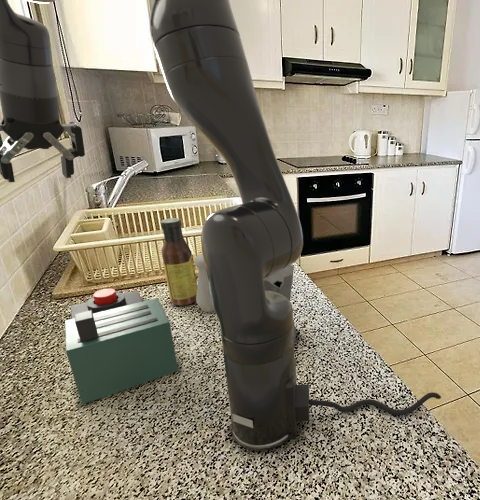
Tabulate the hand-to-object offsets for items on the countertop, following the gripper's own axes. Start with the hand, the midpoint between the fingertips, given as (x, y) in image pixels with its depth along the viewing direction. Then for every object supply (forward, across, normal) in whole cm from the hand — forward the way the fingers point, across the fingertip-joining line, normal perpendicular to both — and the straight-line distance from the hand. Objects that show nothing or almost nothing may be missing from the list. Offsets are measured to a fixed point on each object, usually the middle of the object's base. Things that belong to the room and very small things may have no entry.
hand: (40, 178), depth 70 cm
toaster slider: (+11, -5, -32) cm, 34 cm away
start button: (+24, +6, -12) cm, 27 cm away
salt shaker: (+23, +21, -26) cm, 41 cm away
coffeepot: (+17, +23, -44) cm, 53 cm away
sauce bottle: (+25, +20, -19) cm, 37 cm away
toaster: (+21, 0, -34) cm, 40 cm away
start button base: (+27, +6, -13) cm, 31 cm away
